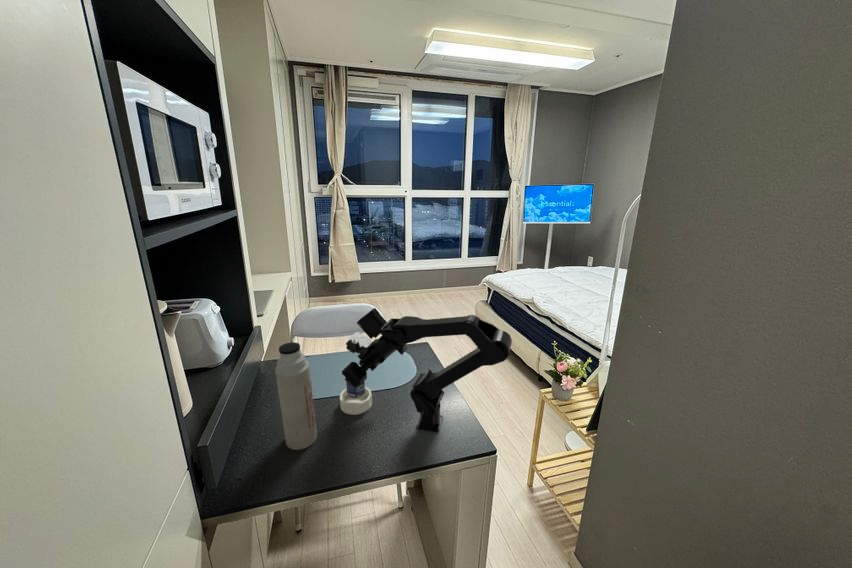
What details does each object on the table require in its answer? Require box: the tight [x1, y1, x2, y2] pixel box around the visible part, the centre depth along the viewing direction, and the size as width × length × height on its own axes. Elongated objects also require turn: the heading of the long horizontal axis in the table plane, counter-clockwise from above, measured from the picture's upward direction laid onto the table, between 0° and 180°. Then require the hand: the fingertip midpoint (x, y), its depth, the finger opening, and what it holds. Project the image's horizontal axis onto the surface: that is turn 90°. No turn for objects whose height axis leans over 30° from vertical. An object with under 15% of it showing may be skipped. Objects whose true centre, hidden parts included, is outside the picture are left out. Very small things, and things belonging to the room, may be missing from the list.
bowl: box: [339, 386, 373, 416], centre depth 107 cm, size 10×10×4 cm
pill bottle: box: [345, 363, 366, 400], centre depth 105 cm, size 5×5×10 cm
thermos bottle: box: [274, 341, 318, 451], centre depth 90 cm, size 8×8×28 cm
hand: (351, 375), depth 105 cm, fingers closed on pill bottle, 5 cm apart
